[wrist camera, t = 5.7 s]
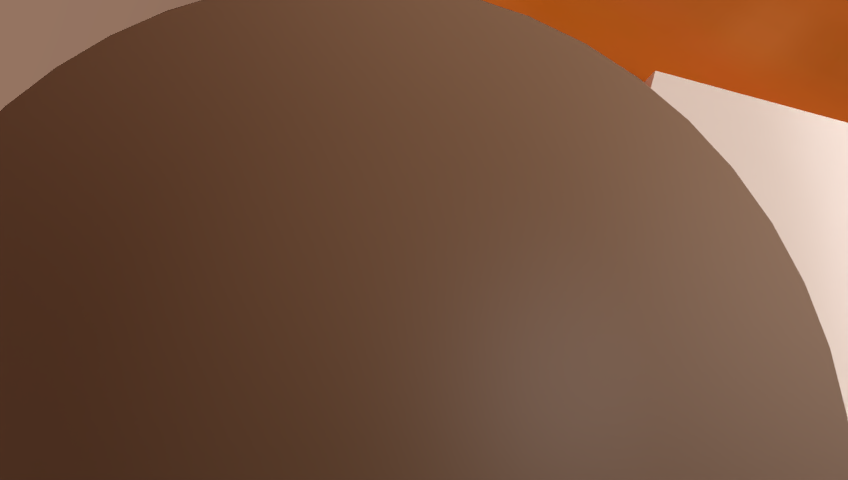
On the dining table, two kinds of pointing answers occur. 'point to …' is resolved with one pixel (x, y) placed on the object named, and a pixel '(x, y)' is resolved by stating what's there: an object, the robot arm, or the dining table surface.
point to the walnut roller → (389, 263)
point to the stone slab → (785, 186)
